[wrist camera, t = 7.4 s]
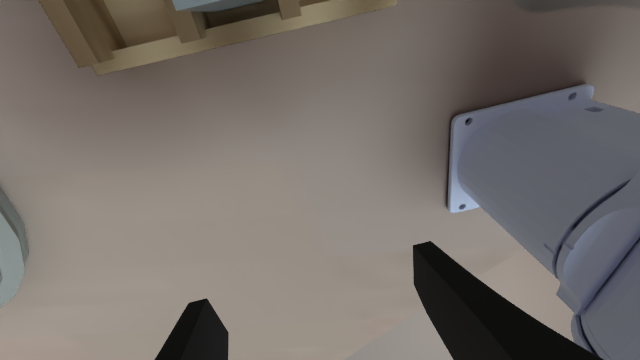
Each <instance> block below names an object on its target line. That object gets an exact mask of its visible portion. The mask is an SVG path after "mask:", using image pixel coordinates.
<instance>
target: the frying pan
mask: <svg viewBox="0 0 640 360" xmlns="http://www.w3.org/2000/svg"><path fill="white" fill-rule="evenodd" d="M28 253H29V249H28V243H27V237H26V231H25V226H24V223H23V221H22V220H21V218H20V217H19V215H18V213H17V212H16V210H15V209H14V207H13V206H12V204H11V203H10V201H9V199H8V198H7V196H6V195H5V193H4V192H3V191H2V190H1V189H0V307H2V306H3V305H4V304H5V303H7V302H8V301H9V300H10V299H12V298H13V297H14V296H15V295H16V292H17V290H18V287H19V285H20V282H21V280H22V277H23V275H24V272H25V267H24V263H25V261H26V258H27V256H28Z"/></svg>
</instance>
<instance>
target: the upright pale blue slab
mask: <svg viewBox="0 0 640 360" xmlns="http://www.w3.org/2000/svg"><path fill="white" fill-rule="evenodd" d="M172 1H173V4H174V6H175V9H176V11H200V12H221V11H225V10H230V9H234V8H238V7H243V6H247V5H251V4H255V3H260V2H264V0H172Z"/></svg>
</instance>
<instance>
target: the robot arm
mask: <svg viewBox="0 0 640 360" xmlns="http://www.w3.org/2000/svg"><path fill="white" fill-rule="evenodd" d="M593 93H594V87H593V86H592V85H589V84H583V85H579V86H575V87H571V88H566V89H562V90H558V91H554V92H550V93H546V94H542V95H538V96H533V97H529V98H525V99H521V100H517V101H513V102H509V103H505V104H500V105H496V106H492V107H488V108H484V109H480V110H476V111H472V112H467V113H463V114H459V115H457V116H455V117H454V118H453V120H452V122H451V140H450V163H449V185H448V210H449V211H450V212H451V213H458V212H462V211H466V210H470V209H474V208H478V207H481V208H482V209H483V210H485V211H486V212H487V213H488V214H489V215H490V216H491V217H492V218H493V219H494V220H495V221H496V222H497V223H498V224H499V225H501V226H502V227H503V228H504V229H505V230H506V231H507V232H508V233H509V234H510V235H511V236H512V237H513V238H514V239H515V240H517V241H518V242H519V243H520V244H521V245H522V246H523V247H524V248H525V249H526V250H527V251H528V252H529V253H530V254H531V255H533V256H534V257H535V258H536V259H537V260H538V261H539V262H540V263H541V264H542V265H543V266H544V267H545V268H546V269H547V270H549V271H550V272H551V273H552V274H553V275H554V276H555V277H556V278H557V279H558V280H559V281H560V286H559V289H558V291H557V293H556V294H557V296H558V297H559V298H560V299H561V300H562V301H563V302H564V303H565V304H566V305H567V306H568V307H569V308H570V309H571V310H572V311H573V312H574V314H573V317H572V320H571V332H572V336H573V339H574V342H575V343H574V342H572V341H570V340H569V339H567V338H565V337H564V336H562V335H560V334H559V333H557V332H555V331H554V330H552V329H551V328H549V327H547V326H546V325H544V324H542V323H541V322H539V321H538V320H536V319H535V318H533V317H531V316H530V315H528V314H527V313H525V312H524V311H522V310H521V309H520V308H518V307H516V306H515V305H514V304H512V303H511V302H509V301H508V300H506V299H505V298H503V297H502V296H501V295H499V294H498V293H496V292H495V291H494V290H492V289H491V288H490V287H488V286H487V285H486V284H484V283H483V282H481V281H480V280H479V279H477V278H476V277H475V276H473V275H472V274H471V273H470V272H468V271H467V270H466V269H464V268H463V267H462V266H461V265H459V264H458V263H457V262H456V261H454V260H453V259H452V258H451V257H449V256H448V255H447V254H446V253H444V252H443V251H442V250H441V249H440V248H438V247H437V246H436V245H435V244H434V243H432V242H431V241H429V242H425V243H421V244H417V245H413V267H414V286H415V288H416V290H417V292H418V295H419V297H420V299H421V302H422V304H423V306H424V308H425V310H426V313H427V314H428V316H429V318H430V320H431V321H432V323H433V325H434V326H435V328H436V330H437V332H438V334H439V335H440V337H441V339H442V340H443V342H444V344H445V346H446V347H447V349H448V351H449V353H450V354H451V356H452V358H453V359H454V360H640V113H636V112H633V111H629V110H625V109H622V108H618V107H614V106H611V105H607V104H604V103H600V102H596V101H593V100H591V99H592V96H593ZM570 94H571V95H570ZM569 96H570V97H569ZM468 118H469V121H468V122H467V123H465V121H466V120H467V119H468ZM460 205H461V206H460ZM155 360H228V331H227V330H226V328H225V327H224V325H223V323H222V322H221V320H220V319H219V317H218V315H217V314H216V312H215V311H214V309H213V307H212V306H211V304H210V303H209V301H208V299H207V298H206V299H203V300H199V301H195V302H191V303H189V304H188V305H187V307H186V309H185V310H184V312H183V313H182V315H181V317H180V318H179V320H178V322H177V323H176V325H175V327H174V329H173V330H172V332H171V334H170V335H169V337H168V339H167V340H166V342H165V344H164V345H163V347H162V349H161V350H160V352H159V354H158V355H157V357H156V358H155Z"/></svg>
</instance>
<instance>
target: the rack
mask: <svg viewBox="0 0 640 360" xmlns="http://www.w3.org/2000/svg"><path fill="white" fill-rule="evenodd" d="M38 1H39V3H40V4H41V6H42V8H43V9H44V11H45V12H46V14H47V16H48V17H49V19H50V21H51V22H52V24H53V26H54V27H55V29H56V31H57V32H58V34H59V36H60V37H61V39H62V41H63V42H64V44H65V45H66V47H67V49H68V50H69V52H70V54H71V55H72V57H73V59H74V60H75V62H76V64H77V65H78V67H79V68H80V67H84V66H89V65H92V67H93V69H94V71H95V72H96V74H97V76H98V75H103V74H107V73H111V72H115V71H120V70H124V69H128V68H132V67H137V66H141V65H145V64H150V63H154V62H158V61H162V60H167V59H171V58H175V57H179V56H184V55H188V54H192V53H196V52H201V51H205V50H209V49H213V48H218V47H222V46H226V45H230V44H235V43H239V42H243V41H247V40H252V39H256V38H260V37H265V36H269V35H273V34H277V33H282V32H286V31H290V30H294V29H299V28H303V27H307V26H311V25H316V24H320V23H324V22H328V21H333V20H337V19H341V18H345V17H350V16H354V15H358V14H362V13H367V12H371V11H375V10H380V9H384V8H388V7H392V6H397V2H396V0H264V2H260V3H255V4H251V5H247V6H243V7H238V8H234V9H230V10H225V11H221V12H200V11H176V9H175V6H174V4H173V1H172V0H38Z"/></svg>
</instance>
